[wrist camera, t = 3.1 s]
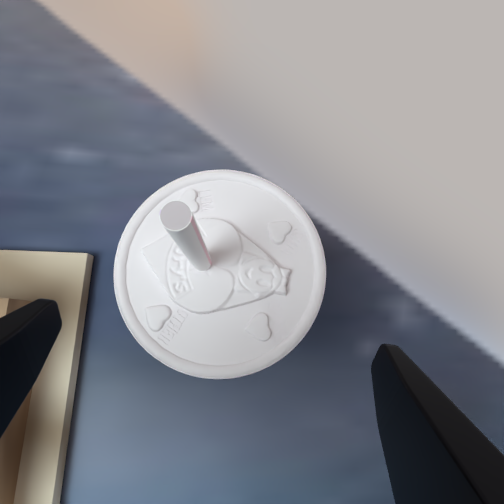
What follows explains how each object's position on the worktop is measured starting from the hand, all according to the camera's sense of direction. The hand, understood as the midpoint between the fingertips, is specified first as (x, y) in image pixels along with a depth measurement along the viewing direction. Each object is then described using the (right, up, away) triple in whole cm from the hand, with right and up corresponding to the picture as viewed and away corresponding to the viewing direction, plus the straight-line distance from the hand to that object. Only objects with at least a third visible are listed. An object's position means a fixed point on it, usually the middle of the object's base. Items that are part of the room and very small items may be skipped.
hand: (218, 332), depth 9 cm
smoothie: (0, 0, +10) cm, 10 cm away
